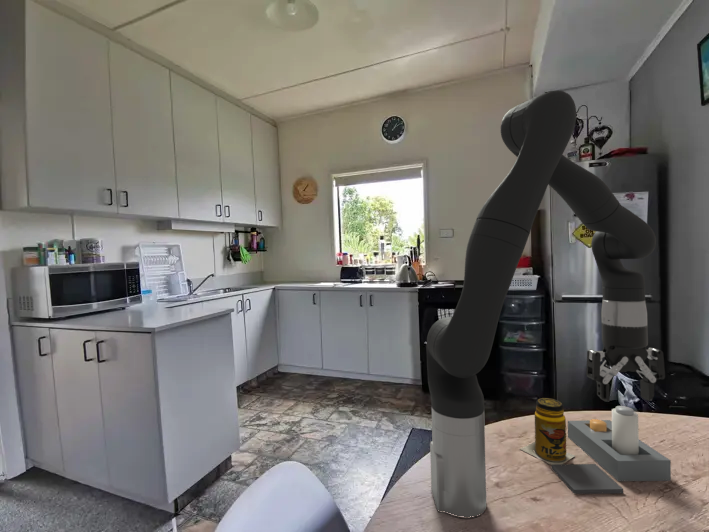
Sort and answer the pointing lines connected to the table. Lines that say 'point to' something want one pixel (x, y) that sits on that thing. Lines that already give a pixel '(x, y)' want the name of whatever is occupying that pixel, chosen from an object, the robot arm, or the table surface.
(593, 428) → the plunger
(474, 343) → the robot arm
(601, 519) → the table surface
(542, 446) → the condiment
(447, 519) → the table surface
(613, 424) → the cylinder
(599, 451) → the block
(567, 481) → the mat
